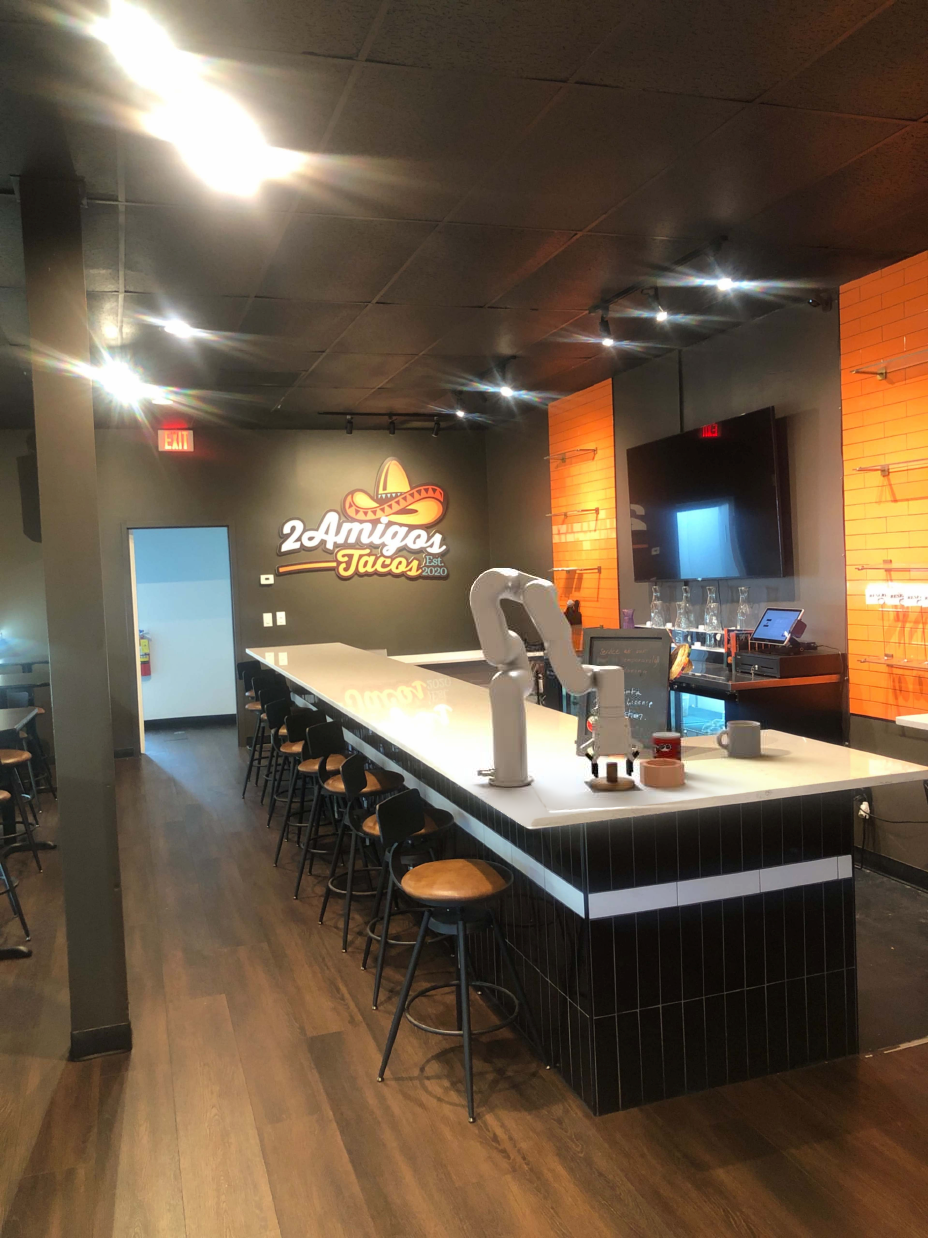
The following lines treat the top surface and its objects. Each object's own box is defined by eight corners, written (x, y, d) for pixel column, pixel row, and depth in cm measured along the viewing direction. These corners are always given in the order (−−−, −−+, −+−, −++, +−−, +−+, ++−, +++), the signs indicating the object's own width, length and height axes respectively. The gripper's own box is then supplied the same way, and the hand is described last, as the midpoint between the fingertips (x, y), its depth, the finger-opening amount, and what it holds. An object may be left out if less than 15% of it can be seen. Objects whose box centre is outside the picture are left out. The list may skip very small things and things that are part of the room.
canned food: (648, 770, 262) (647, 733, 262) (671, 768, 265) (670, 730, 265) (662, 776, 255) (662, 737, 255) (686, 773, 258) (686, 735, 257)
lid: (595, 792, 236) (594, 768, 236) (585, 781, 248) (585, 759, 248) (640, 790, 237) (639, 766, 237) (628, 779, 249) (628, 757, 249)
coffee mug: (757, 752, 284) (756, 720, 284) (763, 758, 274) (763, 725, 274) (713, 752, 286) (713, 721, 285) (718, 758, 276) (718, 726, 275)
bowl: (647, 790, 239) (647, 768, 239) (636, 781, 250) (636, 759, 250) (688, 788, 240) (688, 766, 239) (675, 779, 251) (675, 757, 250)
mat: (593, 795, 236) (593, 792, 236) (583, 783, 249) (583, 781, 249) (642, 792, 237) (642, 790, 237) (629, 781, 250) (629, 779, 250)
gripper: (581, 715, 237) (583, 781, 238) (646, 712, 239) (648, 777, 239) (576, 711, 245) (577, 774, 246) (638, 708, 246) (640, 771, 247)
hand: (612, 776), depth 243 cm, fingers open, 8 cm apart
